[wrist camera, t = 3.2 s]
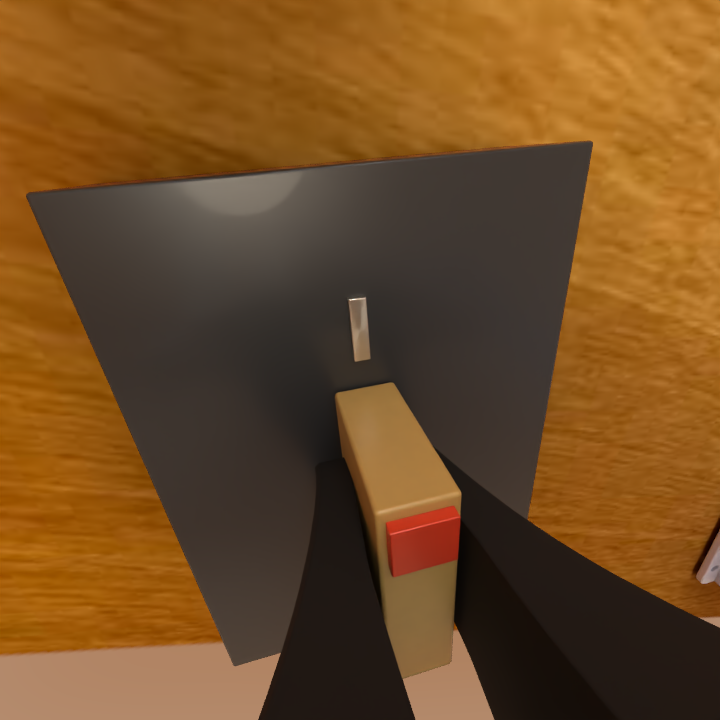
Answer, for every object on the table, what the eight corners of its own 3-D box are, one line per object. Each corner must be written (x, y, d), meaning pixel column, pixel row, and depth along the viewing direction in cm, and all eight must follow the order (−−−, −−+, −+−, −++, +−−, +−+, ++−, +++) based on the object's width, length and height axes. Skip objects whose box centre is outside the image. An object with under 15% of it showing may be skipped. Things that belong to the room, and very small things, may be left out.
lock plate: (476, 517, 17) (519, 587, 14) (237, 580, 15) (233, 673, 12) (508, 146, 10) (602, 139, 7) (94, 184, 9) (16, 193, 6)
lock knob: (400, 528, 11) (458, 677, 8) (352, 540, 11) (392, 698, 8) (393, 380, 9) (471, 504, 6) (333, 391, 9) (378, 527, 5)
